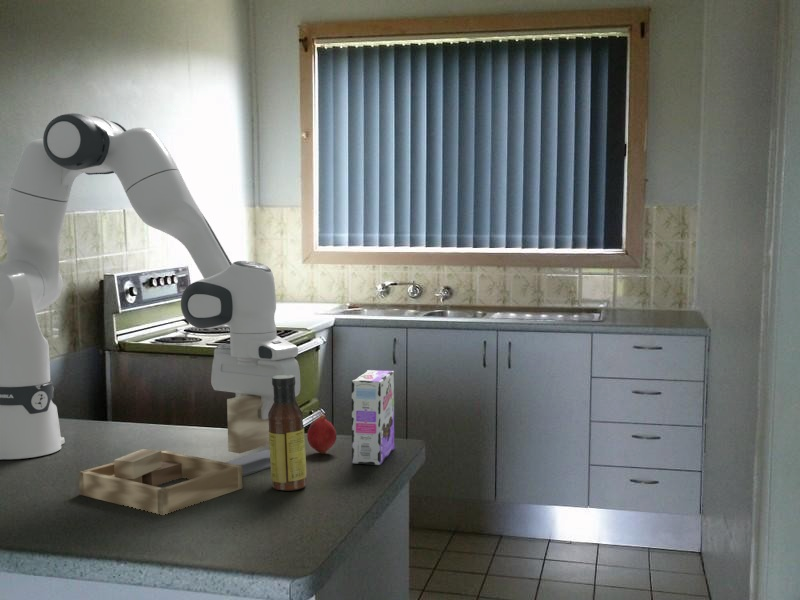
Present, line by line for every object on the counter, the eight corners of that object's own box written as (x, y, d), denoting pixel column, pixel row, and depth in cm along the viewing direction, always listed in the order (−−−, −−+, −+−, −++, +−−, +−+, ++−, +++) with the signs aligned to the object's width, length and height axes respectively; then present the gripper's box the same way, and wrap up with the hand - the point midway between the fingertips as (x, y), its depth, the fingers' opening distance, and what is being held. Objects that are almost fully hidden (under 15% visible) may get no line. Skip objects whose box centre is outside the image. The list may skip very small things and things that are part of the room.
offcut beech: (114, 476, 167) (114, 459, 167) (142, 465, 174) (142, 448, 174) (133, 479, 166) (133, 462, 165) (161, 467, 173) (160, 450, 173)
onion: (309, 457, 190) (308, 418, 189) (306, 450, 196) (305, 412, 195) (338, 456, 191) (337, 416, 190) (334, 449, 197) (334, 410, 196)
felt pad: (207, 469, 181) (207, 467, 181) (267, 451, 195) (267, 449, 195) (242, 476, 176) (242, 474, 176) (301, 457, 190) (301, 455, 190)
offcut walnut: (137, 485, 173) (136, 468, 172) (166, 476, 178) (166, 460, 178) (152, 488, 170) (151, 471, 170) (181, 479, 176) (181, 463, 176)
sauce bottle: (308, 482, 173) (306, 373, 171) (304, 492, 166) (303, 379, 165) (271, 482, 173) (270, 373, 171) (267, 492, 166) (265, 379, 165)
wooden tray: (79, 494, 166) (78, 471, 165) (161, 470, 181) (160, 449, 180) (163, 515, 154) (162, 491, 154) (242, 488, 169) (242, 465, 169)
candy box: (380, 466, 184) (380, 381, 182) (350, 464, 185) (350, 380, 183) (395, 448, 197) (395, 369, 196) (367, 447, 198) (367, 368, 197)
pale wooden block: (228, 451, 182) (227, 399, 181) (270, 438, 191) (269, 389, 191) (240, 453, 180) (238, 400, 179) (282, 440, 190) (281, 390, 189)
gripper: (202, 344, 187) (204, 414, 188) (282, 352, 176) (284, 426, 177) (225, 340, 192) (227, 408, 194) (304, 347, 181) (306, 420, 182)
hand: (255, 417), depth 185 cm, fingers closed on pale wooden block, 3 cm apart
